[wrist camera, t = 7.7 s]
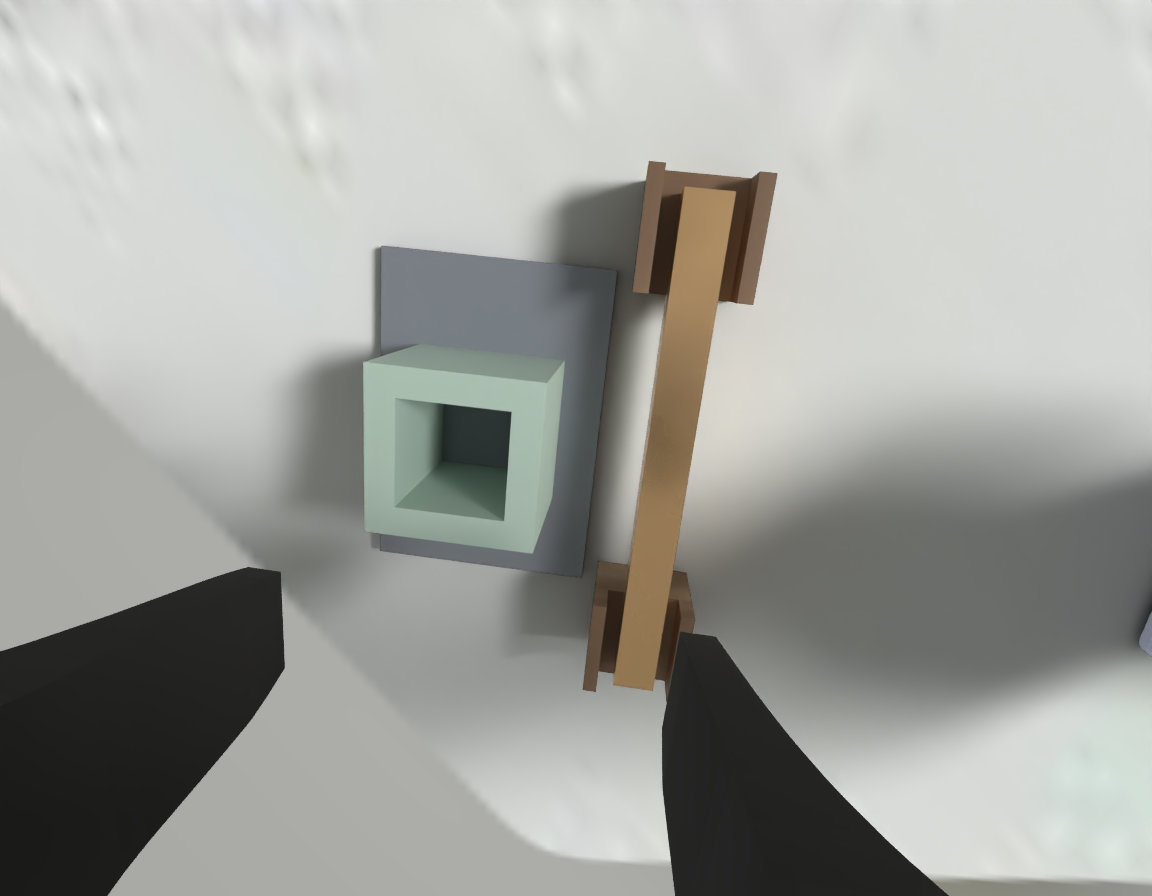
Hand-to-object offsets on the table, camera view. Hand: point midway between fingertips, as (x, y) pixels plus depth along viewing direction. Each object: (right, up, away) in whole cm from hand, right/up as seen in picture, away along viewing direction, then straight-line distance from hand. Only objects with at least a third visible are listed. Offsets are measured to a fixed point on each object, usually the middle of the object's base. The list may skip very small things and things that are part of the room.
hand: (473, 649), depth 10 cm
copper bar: (+4, +3, +6) cm, 8 cm away
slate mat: (-1, +4, +8) cm, 10 cm away
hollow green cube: (-1, +4, +8) cm, 9 cm away
